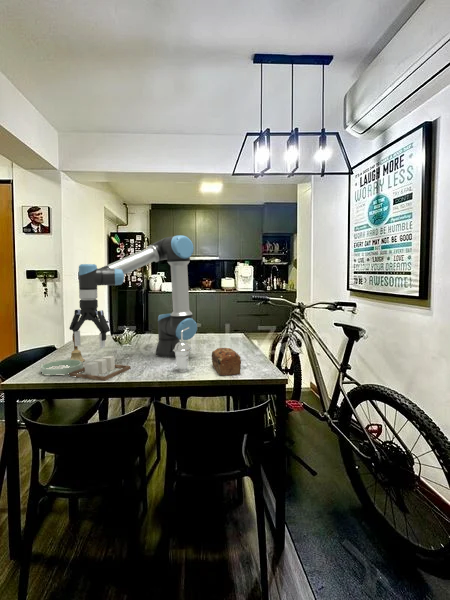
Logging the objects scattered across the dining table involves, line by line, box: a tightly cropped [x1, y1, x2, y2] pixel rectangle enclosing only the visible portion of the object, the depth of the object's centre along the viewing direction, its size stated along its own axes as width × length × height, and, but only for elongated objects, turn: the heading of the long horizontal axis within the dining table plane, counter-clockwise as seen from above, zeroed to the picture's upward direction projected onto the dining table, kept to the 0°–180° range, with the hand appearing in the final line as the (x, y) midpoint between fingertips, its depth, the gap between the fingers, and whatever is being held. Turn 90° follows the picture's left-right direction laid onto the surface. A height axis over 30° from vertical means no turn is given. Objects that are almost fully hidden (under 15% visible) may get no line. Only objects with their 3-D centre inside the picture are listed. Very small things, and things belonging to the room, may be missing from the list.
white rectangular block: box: [84, 361, 100, 376], centre depth 160 cm, size 4×4×6 cm
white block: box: [93, 358, 108, 375], centre depth 166 cm, size 4×4×6 cm
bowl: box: [39, 359, 84, 375], centre depth 170 cm, size 18×18×3 cm
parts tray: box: [68, 363, 131, 381], centre depth 166 cm, size 20×19×2 cm
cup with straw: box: [173, 327, 192, 373], centre depth 168 cm, size 8×9×20 cm
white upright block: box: [102, 355, 116, 371], centre depth 172 cm, size 4×4×6 cm
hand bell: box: [69, 334, 86, 363], centre depth 187 cm, size 8×8×16 cm
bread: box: [211, 347, 242, 376], centre depth 168 cm, size 19×11×10 cm, turn 12°
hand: (89, 346), depth 159 cm, fingers open, 13 cm apart
